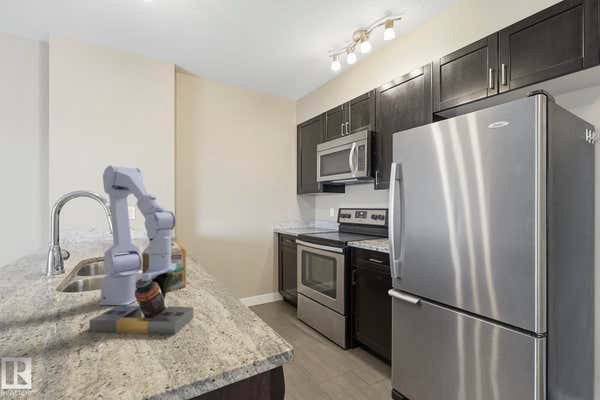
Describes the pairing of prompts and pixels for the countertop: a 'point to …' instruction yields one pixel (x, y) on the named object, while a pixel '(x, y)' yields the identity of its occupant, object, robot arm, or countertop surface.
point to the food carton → (176, 257)
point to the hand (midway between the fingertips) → (160, 300)
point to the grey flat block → (141, 321)
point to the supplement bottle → (149, 298)
